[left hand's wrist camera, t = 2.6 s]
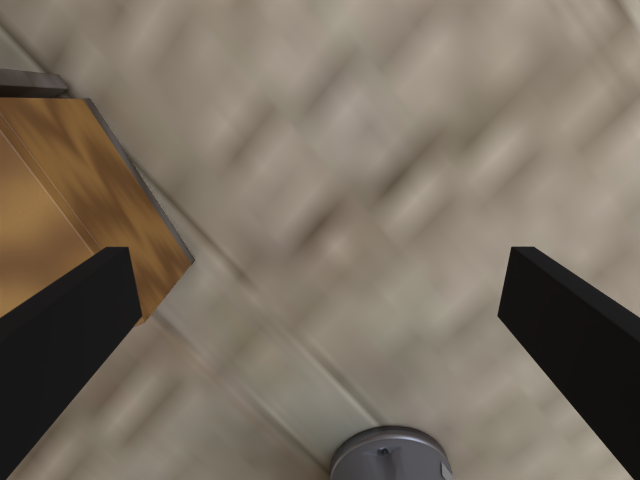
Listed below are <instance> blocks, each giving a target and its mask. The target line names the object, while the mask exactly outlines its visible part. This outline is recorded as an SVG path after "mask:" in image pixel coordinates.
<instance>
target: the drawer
mask: <svg viewBox="0 0 640 480" xmlns="http://www.w3.org/2000/svg"><path fill="white" fill-rule="evenodd" d="M66 90H68V87H67V86H66V84H65V83H64V81H63V80H62V78H61V77H60V75H55V74H45V73H36V72H27V71H18V70H8V69H0V97H3V98H54V97H55V96H57V95H59V94H61V93H62V92H64V91H66Z"/></svg>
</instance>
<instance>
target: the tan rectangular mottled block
mask: <svg viewBox="0 0 640 480" xmlns="http://www.w3.org/2000/svg"><path fill="white" fill-rule="evenodd" d="M105 247H129V252H130V256H131V261H132V266H133V271H134V276H135V281H136V286H137V291H138V296H139V301H140V306H141V311H142V317H141V318H140V320H139V321H138V322H137V323H136V324H135V326H137V325H140V324H142V323H144V322H145V321H146V320H147V319H148V318H149V316H150V315H151V314H152V313H153V312H154V310H155V309H156V308H157V307H158V305H159V304H160V303H161V302H162V300H163V299H164V298H165V297H166V295H167V294H168V293H169V292H170V290H171V289H172V288H173V287H174V285H175V284H176V283H177V282H178V280H179V279H180V278H181V277H182V275H183V274H184V273H185V272H186V270H187V269H188V268H189V267H190V265H192V263H193V262H194V261H195V259H194V258H193V256H192V255H191V253H190V252H189V250H188V248H187V247H186V245H185V244H184V242H183V241H182V239H181V238H180V236H179V235H178V233H177V232H176V230H175V228H174V227H173V225H172V224H171V222H170V221H169V219H168V218H167V216H166V215H165V213H164V212H163V210H162V208H161V207H160V205H159V204H158V202H157V201H156V199H155V198H154V196H153V195H152V193H151V191H150V190H149V188H148V187H147V185H146V184H145V182H144V181H143V179H142V178H141V176H140V175H139V173H138V171H137V170H136V168H135V167H134V165H133V164H132V162H131V161H130V159H129V158H128V156H127V155H126V153H125V151H124V150H123V148H122V147H121V145H120V144H119V142H118V141H117V139H116V138H115V136H114V135H113V133H112V131H111V130H110V128H109V127H108V125H107V124H106V122H105V121H104V119H103V118H102V116H101V115H100V113H99V111H98V110H97V108H96V107H95V105H94V104H93V102H92V101H91V99H84V98H83V99H58V98H3V97H0V318H1V317H2V316H4V315H5V314H7V313H8V312H10V311H11V310H13V309H14V308H16V307H17V306H19V305H20V304H21V303H23V302H24V301H26V300H27V299H29V298H30V297H32V296H33V295H35V294H36V293H38V292H39V291H41V290H42V289H44V288H45V287H47V286H48V285H50V284H51V283H53V282H54V281H56V280H57V279H59V278H60V277H62V276H63V275H65V274H66V273H68V272H69V271H71V270H72V269H74V268H75V267H77V266H78V265H80V264H81V263H83V262H84V261H86V260H87V259H89V258H90V257H92V256H93V255H95V254H96V253H98V252H99V251H101V250H102V249H104V248H105ZM135 326H134V327H135Z"/></svg>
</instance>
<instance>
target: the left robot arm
mask: <svg viewBox="0 0 640 480" xmlns="http://www.w3.org/2000/svg"><path fill="white" fill-rule="evenodd" d="M141 317H142V311H141V306H140V301H139V296H138V291H137V286H136V281H135V276H134V271H133V266H132V261H131V256H130V252H129V247H105V248H104V249H102V250H101V251H99V252H98V253H96V254H95V255H93V256H92V257H90V258H89V259H87V260H86V261H84V262H83V263H81V264H80V265H78V266H77V267H75V268H74V269H72V270H71V271H69V272H68V273H66V274H65V275H63V276H62V277H60V278H59V279H57V280H56V281H54V282H53V283H51V284H50V285H48V286H47V287H45V288H44V289H42V290H41V291H39V292H38V293H36V294H35V295H33V296H32V297H30V298H29V299H27V300H26V301H24V302H23V303H21V304H20V305H19V306H17V307H16V308H14V309H13V310H11V311H10V312H8V313H7V314H5V315H4V316H2V317H1V318H0V480H6V479H7V478H8V477H9V475H10V474H11V473H12V472H13V471H14V469H15V468H16V467H17V466H18V465H19V463H20V462H21V461H22V460H23V459H24V457H25V456H26V455H27V454H28V453H29V451H30V450H31V449H32V448H33V447H34V445H35V444H36V443H37V442H38V441H39V439H40V438H41V437H42V436H43V435H44V433H45V432H46V431H47V430H48V429H49V427H50V426H51V425H52V424H53V423H54V421H55V420H56V419H57V418H58V417H59V415H60V414H61V413H62V412H63V411H64V409H65V408H66V407H67V406H68V405H69V403H70V402H71V401H72V400H73V399H74V397H75V396H76V395H77V394H78V393H79V391H80V390H81V389H82V388H83V387H84V385H85V384H86V383H87V382H88V381H89V380H90V378H91V377H92V376H93V375H94V374H95V372H96V371H97V370H98V369H99V368H100V366H101V365H102V364H103V363H104V362H105V360H106V359H107V358H108V357H109V356H110V354H111V353H112V352H113V351H114V350H115V348H116V347H117V346H118V345H119V344H120V342H121V341H122V340H123V339H124V338H125V336H126V335H127V334H128V333H129V332H130V330H131V329H132V328H133V327H134V326H135V324H136V323H137V322H138V321H139V320H140V318H141ZM498 317H499V318H500V320H501V321H502V322H503V323H504V324H505V326H506V327H507V328H508V329H509V330H510V332H511V333H512V334H513V335H514V336H515V338H516V339H517V340H518V341H519V342H520V344H521V345H522V346H523V347H524V348H525V350H526V351H527V352H528V353H529V354H530V356H531V357H532V358H533V359H534V360H535V362H536V363H537V364H538V365H539V366H540V368H541V369H542V370H543V371H544V372H545V374H546V375H547V376H548V377H549V378H550V380H551V381H552V382H553V383H554V384H555V385H556V387H557V388H558V389H559V390H560V391H561V393H562V394H563V395H564V396H565V397H566V399H567V400H568V401H569V402H570V403H571V405H572V406H573V407H574V408H575V409H576V411H577V412H578V413H579V414H580V415H581V417H582V418H583V419H584V420H585V421H586V423H587V424H588V425H589V426H590V427H591V429H592V430H593V431H594V432H595V433H596V435H597V436H598V437H599V438H600V439H601V441H602V442H603V443H604V444H605V445H606V447H607V448H608V449H609V450H610V451H611V453H612V454H613V455H614V456H615V457H616V459H617V460H618V461H619V462H620V463H621V465H622V466H623V467H624V468H625V469H626V471H627V472H628V473H629V474H630V475H631V477H632V478H633V479H634V480H640V318H639V317H638V316H636V315H635V314H633V313H632V312H630V311H629V310H627V309H626V308H624V307H623V306H621V305H620V304H619V303H617V302H616V301H614V300H613V299H611V298H610V297H608V296H607V295H605V294H604V293H602V292H601V291H599V290H598V289H596V288H595V287H593V286H592V285H590V284H589V283H587V282H586V281H584V280H583V279H581V278H580V277H578V276H577V275H575V274H574V273H572V272H571V271H569V270H568V269H566V268H565V267H563V266H562V265H560V264H559V263H557V262H556V261H554V260H553V259H551V258H550V257H548V256H547V255H545V254H544V253H542V252H541V251H539V250H538V249H536V248H535V247H511V252H510V256H509V261H508V266H507V271H506V276H505V281H504V286H503V291H502V296H501V301H500V306H499V311H498ZM330 480H453V476H452V471H451V467H450V464H449V462H448V459H447V456H446V454H445V451H444V450H443V448H442V447H441V445H440V444H439V443H438V442H437V441H435V440H434V439H433V438H432V437H430V436H428V435H427V434H425V433H422V432H420V431H417V430H414V429H410V428H404V427H382V428H376V429H371V430H368V431H365V432H363V433H360V434H358V435H356V436H354V437H353V438H351V439H349V440H348V441H347V442H345V443H344V444H343V445H342V446H341V447H340V448H339V449H338V451H337V452H336V454H335V455H334V457H333V459H332V462H331V466H330Z"/></svg>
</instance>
